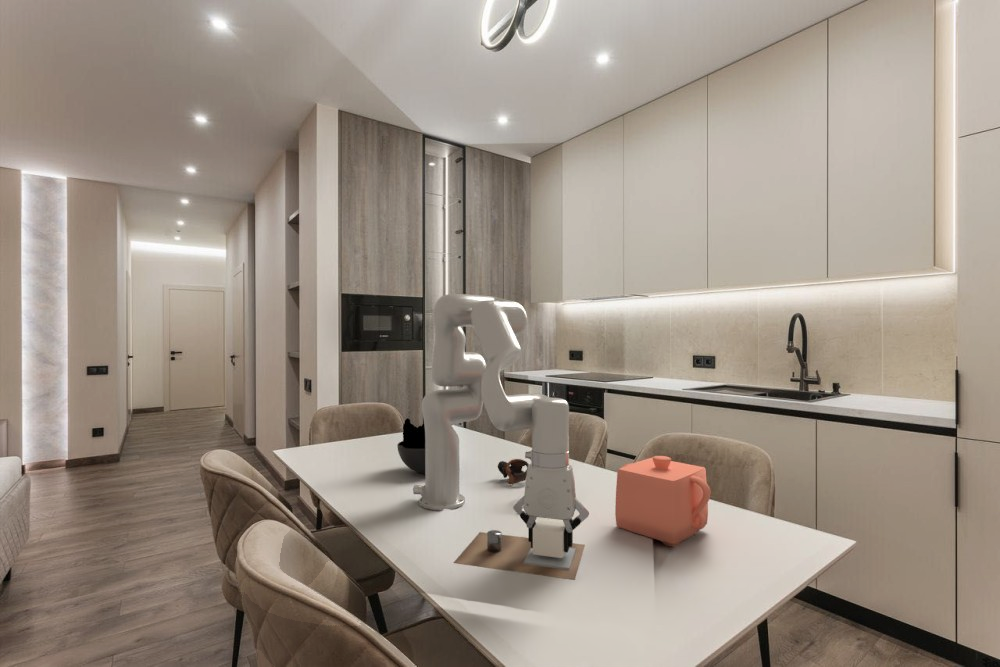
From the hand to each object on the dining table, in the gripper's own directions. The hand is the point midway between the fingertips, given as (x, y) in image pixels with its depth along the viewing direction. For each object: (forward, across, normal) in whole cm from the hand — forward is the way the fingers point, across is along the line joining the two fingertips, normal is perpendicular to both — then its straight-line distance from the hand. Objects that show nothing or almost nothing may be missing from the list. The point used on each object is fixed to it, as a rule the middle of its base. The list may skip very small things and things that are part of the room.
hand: (550, 546), depth 99 cm
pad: (+2, 0, 0) cm, 2 cm away
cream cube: (+1, 0, 0) cm, 1 cm away
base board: (+3, -6, 0) cm, 7 cm away
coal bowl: (+4, -54, +56) cm, 78 cm away
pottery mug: (+4, -22, +54) cm, 59 cm away
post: (+2, -12, 0) cm, 12 cm away
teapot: (+4, +24, +27) cm, 36 cm away
